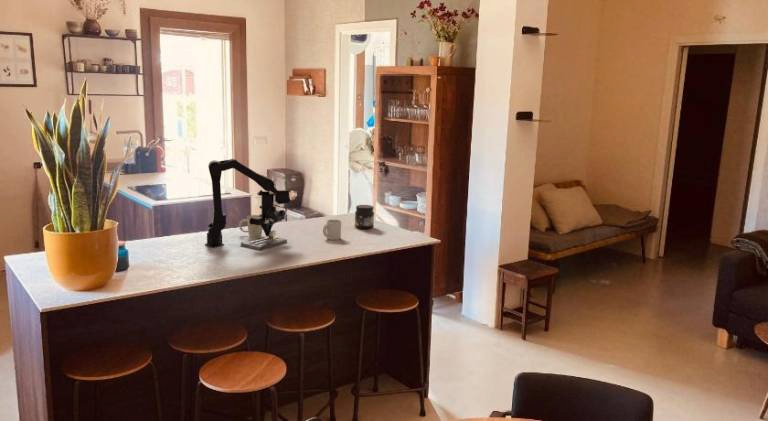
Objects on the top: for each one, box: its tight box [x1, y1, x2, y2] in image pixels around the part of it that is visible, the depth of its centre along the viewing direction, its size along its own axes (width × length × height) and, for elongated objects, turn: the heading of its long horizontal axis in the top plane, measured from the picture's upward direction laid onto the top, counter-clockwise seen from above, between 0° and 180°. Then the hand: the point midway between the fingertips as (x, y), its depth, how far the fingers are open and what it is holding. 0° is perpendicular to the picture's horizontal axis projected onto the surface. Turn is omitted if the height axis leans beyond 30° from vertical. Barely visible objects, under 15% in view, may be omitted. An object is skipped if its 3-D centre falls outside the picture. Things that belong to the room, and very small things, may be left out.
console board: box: [240, 235, 288, 251], centre depth 291 cm, size 19×12×2 cm, turn 148°
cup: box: [322, 219, 342, 241], centre depth 306 cm, size 7×10×9 cm
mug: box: [238, 214, 263, 239], centre depth 304 cm, size 8×13×10 cm, turn 89°
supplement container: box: [354, 204, 375, 231], centre depth 332 cm, size 10×10×12 cm
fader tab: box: [269, 229, 277, 239], centre depth 294 cm, size 2×4×5 cm, turn 58°
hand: (267, 236), depth 292 cm, fingers closed
